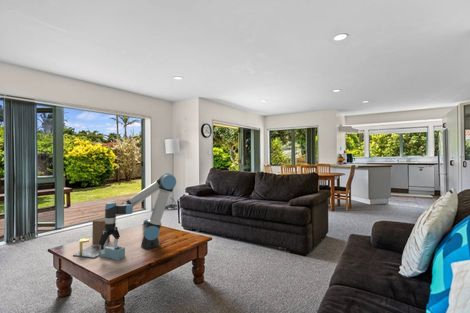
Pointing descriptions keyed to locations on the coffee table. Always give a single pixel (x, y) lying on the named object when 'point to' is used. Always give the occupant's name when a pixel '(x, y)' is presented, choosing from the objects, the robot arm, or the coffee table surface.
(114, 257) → the link
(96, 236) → the wooden block
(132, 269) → the coffee table surface
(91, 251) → the plate
